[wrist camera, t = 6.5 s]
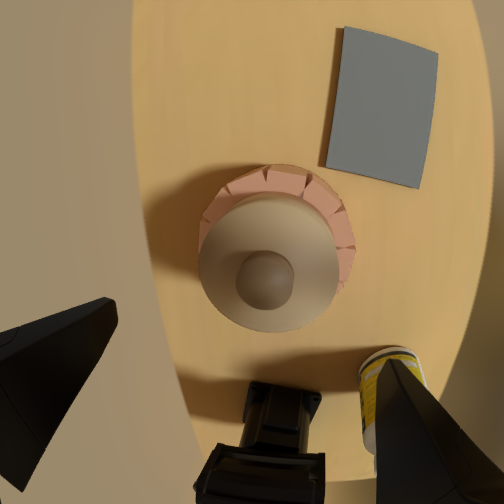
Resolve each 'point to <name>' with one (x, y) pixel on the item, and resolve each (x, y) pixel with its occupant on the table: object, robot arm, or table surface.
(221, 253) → the lid
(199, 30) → the table surface
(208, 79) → the table surface
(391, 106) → the mat
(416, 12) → the table surface
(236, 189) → the pink notched ring
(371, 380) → the supplement bottle
